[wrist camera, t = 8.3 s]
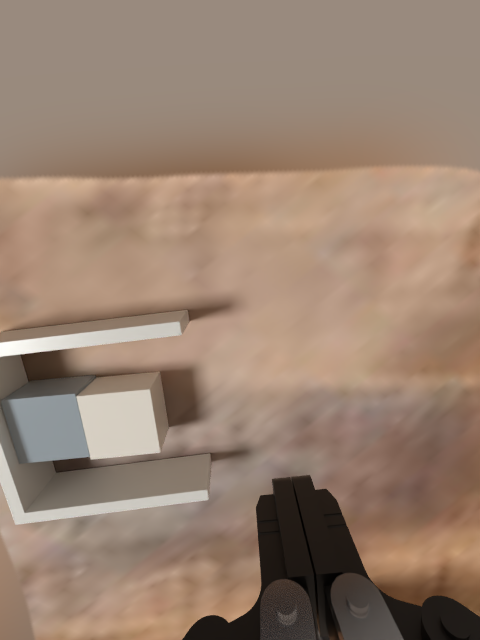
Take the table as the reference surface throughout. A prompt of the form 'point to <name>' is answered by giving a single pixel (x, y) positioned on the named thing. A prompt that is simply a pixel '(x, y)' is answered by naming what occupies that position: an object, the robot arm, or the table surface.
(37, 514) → the tray
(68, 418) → the grey-blue square block
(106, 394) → the tile white
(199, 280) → the table surface
